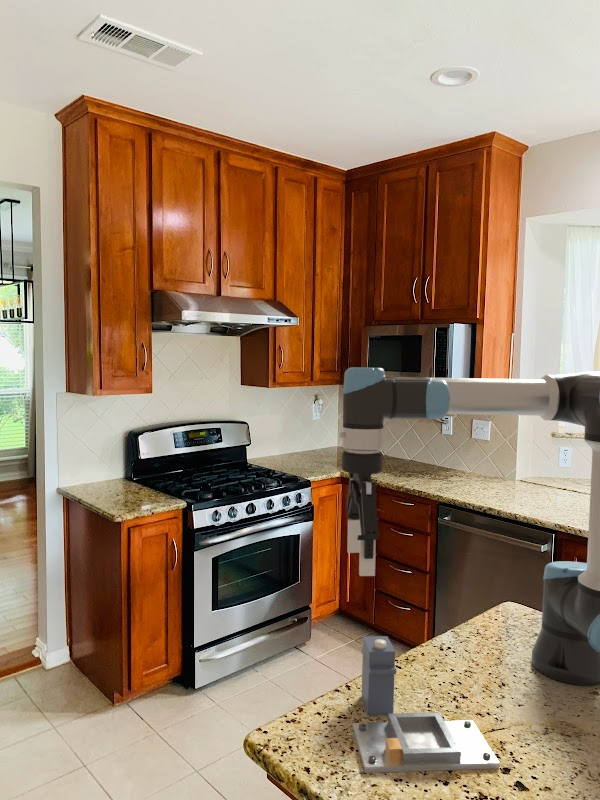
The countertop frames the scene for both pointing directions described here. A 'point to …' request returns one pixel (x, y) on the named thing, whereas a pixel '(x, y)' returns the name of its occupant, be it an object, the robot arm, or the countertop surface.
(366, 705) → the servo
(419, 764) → the chassis
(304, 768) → the countertop surface
